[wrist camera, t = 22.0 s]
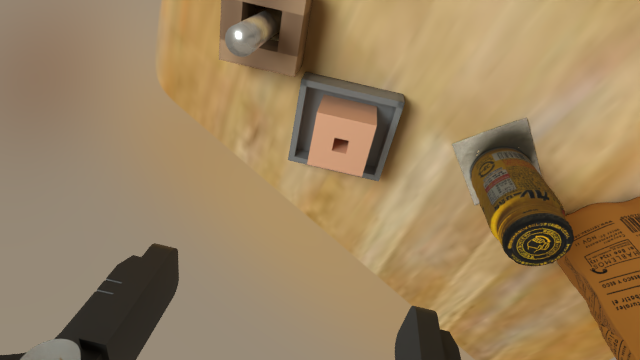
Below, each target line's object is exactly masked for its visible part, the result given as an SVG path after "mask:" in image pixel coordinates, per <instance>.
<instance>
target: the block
mask: <svg viewBox="0 0 640 360" xmlns="http://www.w3.org/2000/svg"><path fill="white" fill-rule="evenodd" d="M376 127H377V106H373V105H369V104H364V103H360V102H355V101H351V100H346V99H342V98H338V97H333V96H329V95H323V98H322V100H321V103H320V106H319V108H318V111H317V115H316V120H315V125H314V130H313V135H312V141H311V146H310V151H309V156H308V162H307V164H308V165H312V166H317V167H321V168H325V169H330V170H334V171H339V172H343V173H347V174H352V175H356V176H360V177H362V175H363V171H364V168H365V165H366V161H367V158H368V154H369V151H370V148H371V144H372V141H373V137H374V134H375V130H376Z"/></svg>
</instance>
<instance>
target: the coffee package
mask: <svg viewBox="0 0 640 360" xmlns="http://www.w3.org/2000/svg"><path fill="white" fill-rule="evenodd" d="M565 218H566V220H567V221H568V222H569V225H570V226H571V227H572V230H573V235H574V241H573V244H572V246H571V248H570V250H569V251H568V252H567V253H566V254H565V255H564V256H563V257H562V258H560V259H558V260H557V262H558V264H559V265H560V267H561V268H562V270H563V271H564V273H565V274H566V275H567V277H568V278H569V280H570V281H571V283H572V284H573V285H574V286H575V287H576V288H577V290H578V291H579V292H580V294H581V295H582V296H583V297H584V299H585V300H586V301H587V304H588V307H589V309H590V312H591V314H592V316H593V317H594V319H595V320H596V322H597V323H598V325H599V328H600V330H601V333H602V335H603V337H604V339H605V341H606V342H607V344H608V346H609V347H610V349H611V351H612V352H613V354H614V356H615V358H616V359H617V360H640V197H637V198H634V199H632V200H629V201H626V202H619V203H596V204H591V205H588V206H586V207H584V208H582V209H579V210H578V211H576V212H574V213H572V214H569V215H566V216H565Z"/></svg>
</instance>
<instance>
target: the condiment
mask: <svg viewBox="0 0 640 360" xmlns="http://www.w3.org/2000/svg"><path fill="white" fill-rule="evenodd" d="M452 146H453V148H454V151H455V154H456V156H457V159H458V162H459V164H460V167H461V170H462V172H463V175H464V178H465V181H466V183H467V186H468V189H469V191H470V194H471V197H472V199H473V202H474V205H477V204H480V206H481V208H482V210H483V212H484V214H485V217H486V219H487V222H488V225H489V227H490V229H491V232H492V233H493V235H494V236H495V237H496V238H497V239H498V240H499V241H500V243H501V245H502V246H503V248H504V251H505V253H506V254H507V255H508V257H509V258H511V259H513V260H514V261H515V262H516V263H518V264H522V265H527V266H541V265H546V264H549V263H553V262H554V261H556V260H558V259H560V258H562V257H563V256H564V255H565V254H566V253H567V252H568V251H569V250H570V248H571V246H572V244H573V241H574V235H573V230H572V227H571V226H570V225H569V222H568V221H567V220H566V218H565V212H564V210H563V206H562V204H561V203H560V201H559V200H558V198H557V197H556V196H555V195H554V193H553V192H552V191H551V189H550V188H549V187H548V185H547V184H546V182H545V181H544V180H543V178H542V176H541V172H540V168H539V165H538V161H537V157H536V153H535V148H534V145H533V141H532V137H531V133H530V129H529V125H528V121H527V118H524V119H521V120H519V121H514V122H512V123H509V124H506V125H503V126H500V127H497V128H494V129H491V130H489V131H486V132H483V133H480V134H478V135H475V136H473V137H470V138H467V139H464V140H462V141H459V142H456V143H454V144H452ZM518 147H519V148H518ZM478 150H479V152H478V153H477V151H478ZM476 154H478V155H477V156H476Z"/></svg>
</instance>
